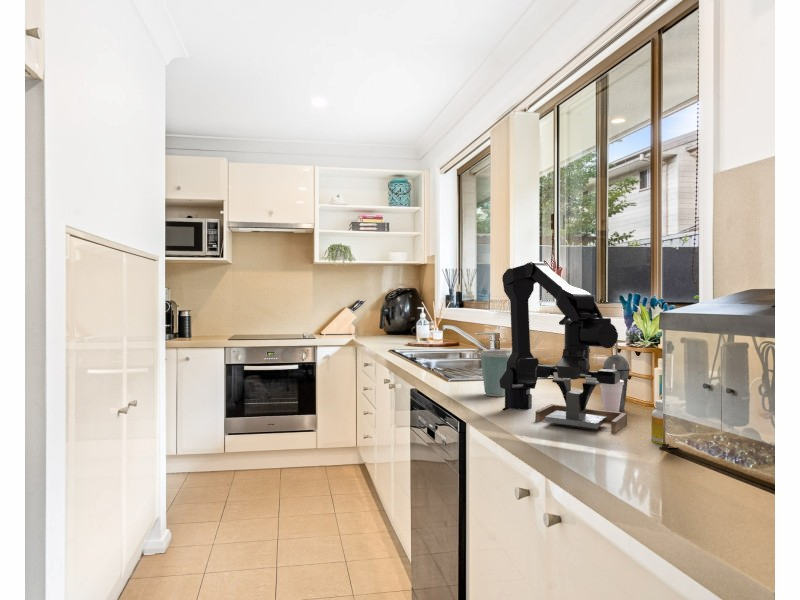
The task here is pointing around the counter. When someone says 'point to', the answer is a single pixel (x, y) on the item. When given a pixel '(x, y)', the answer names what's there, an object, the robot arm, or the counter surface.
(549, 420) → the cover plate
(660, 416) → the supplement bottle
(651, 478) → the counter surface
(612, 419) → the walnut box
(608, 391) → the smoothie
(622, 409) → the beverage cup
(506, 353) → the disposable coffee cup
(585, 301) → the robot arm
